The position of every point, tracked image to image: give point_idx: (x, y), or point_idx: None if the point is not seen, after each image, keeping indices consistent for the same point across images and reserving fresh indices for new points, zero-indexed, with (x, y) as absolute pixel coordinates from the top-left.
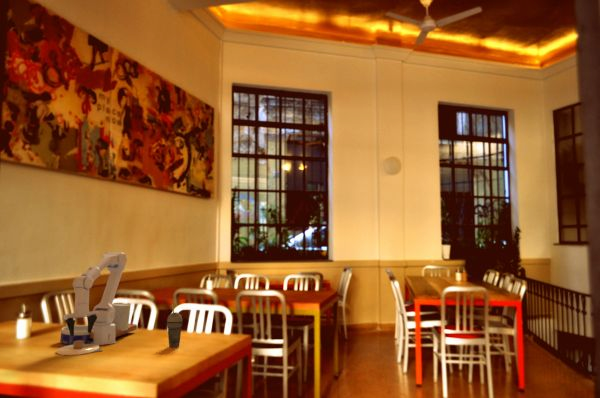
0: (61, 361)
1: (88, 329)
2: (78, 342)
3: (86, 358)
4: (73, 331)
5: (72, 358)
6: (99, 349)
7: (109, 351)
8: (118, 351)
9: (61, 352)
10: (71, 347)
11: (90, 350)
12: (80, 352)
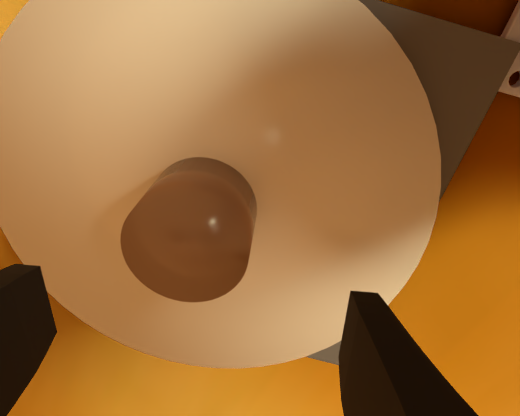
0: None
1: (357, 355)
2: (163, 295)
3: (185, 390)
4: (3, 406)
5: None
6: None
7: None
8: None
9: (16, 237)
10: (158, 105)
11: (249, 361)
12: (158, 355)
